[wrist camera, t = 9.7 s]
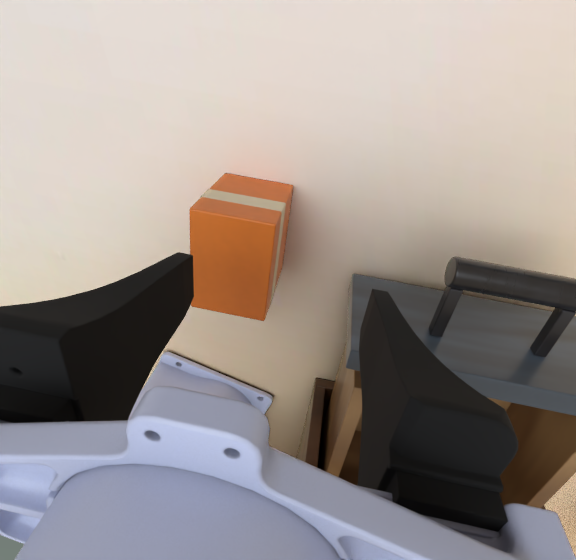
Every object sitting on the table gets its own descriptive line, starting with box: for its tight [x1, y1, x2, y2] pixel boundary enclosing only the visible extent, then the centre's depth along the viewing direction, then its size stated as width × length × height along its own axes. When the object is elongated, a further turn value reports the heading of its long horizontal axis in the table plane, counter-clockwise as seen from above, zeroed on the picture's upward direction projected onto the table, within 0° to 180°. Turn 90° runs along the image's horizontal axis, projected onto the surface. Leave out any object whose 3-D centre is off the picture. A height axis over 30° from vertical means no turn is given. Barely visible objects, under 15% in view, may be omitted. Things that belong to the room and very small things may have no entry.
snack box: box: [190, 173, 293, 321], centre depth 21 cm, size 6×4×6 cm
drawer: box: [320, 257, 576, 508], centre depth 22 cm, size 18×13×7 cm
